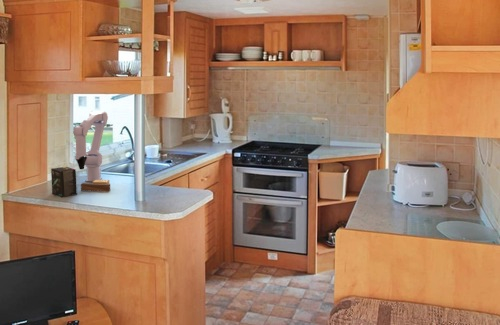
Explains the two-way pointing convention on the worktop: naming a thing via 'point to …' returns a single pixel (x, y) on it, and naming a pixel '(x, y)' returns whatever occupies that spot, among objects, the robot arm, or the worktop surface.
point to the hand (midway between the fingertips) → (81, 169)
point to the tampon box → (63, 181)
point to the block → (101, 181)
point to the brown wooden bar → (95, 187)
